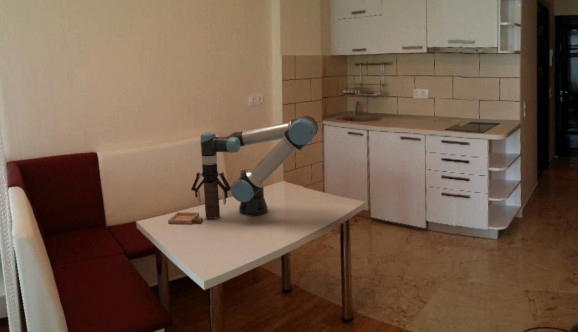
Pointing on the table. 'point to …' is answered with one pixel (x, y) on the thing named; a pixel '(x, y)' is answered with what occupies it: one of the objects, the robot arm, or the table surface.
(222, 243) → the table surface
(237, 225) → the table surface
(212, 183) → the dark brown tall piece
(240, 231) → the table surface
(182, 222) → the dish
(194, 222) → the matchbox
